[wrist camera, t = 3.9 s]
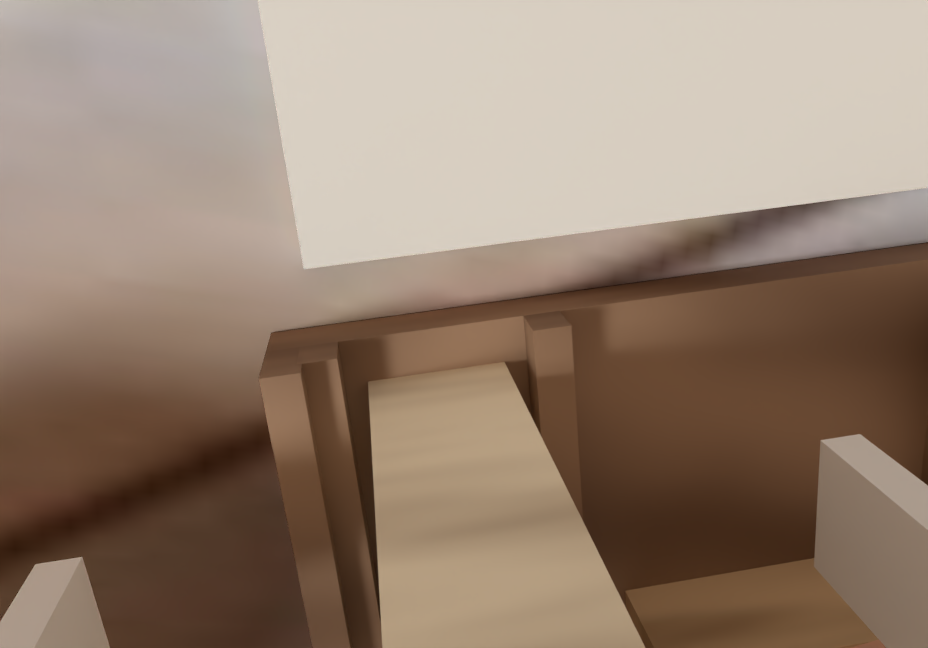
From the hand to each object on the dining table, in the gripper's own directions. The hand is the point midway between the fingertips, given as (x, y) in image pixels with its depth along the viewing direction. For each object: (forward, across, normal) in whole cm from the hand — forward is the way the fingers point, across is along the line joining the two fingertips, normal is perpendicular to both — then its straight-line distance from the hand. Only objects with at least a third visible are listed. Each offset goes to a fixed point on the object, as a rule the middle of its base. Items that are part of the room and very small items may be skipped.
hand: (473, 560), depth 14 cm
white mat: (+5, -5, -8) cm, 11 cm away
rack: (+5, -4, +4) cm, 8 cm away
